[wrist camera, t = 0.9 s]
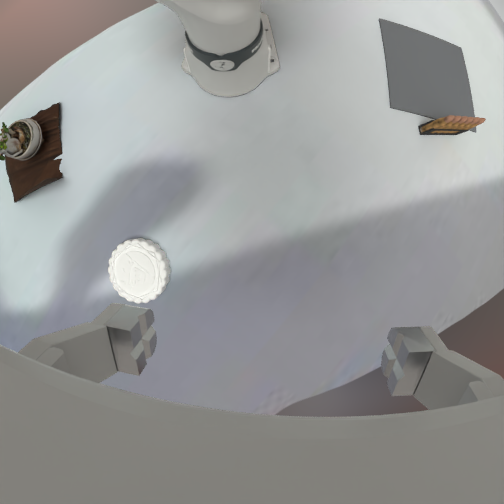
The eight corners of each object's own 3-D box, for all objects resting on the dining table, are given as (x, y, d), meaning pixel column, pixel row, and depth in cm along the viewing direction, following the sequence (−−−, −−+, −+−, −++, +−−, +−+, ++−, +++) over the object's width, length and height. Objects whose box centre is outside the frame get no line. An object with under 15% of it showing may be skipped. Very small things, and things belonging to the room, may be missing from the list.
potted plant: (65, 100, 52) (14, 82, 29) (81, 174, 59) (34, 188, 36) (2, 133, 50) (-59, 135, 27) (18, 202, 56) (-39, 228, 33)
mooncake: (104, 273, 55) (96, 276, 51) (135, 224, 54) (127, 225, 50) (149, 311, 56) (143, 317, 52) (183, 264, 55) (178, 268, 51)
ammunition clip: (454, 127, 50) (487, 114, 38) (456, 135, 50) (489, 123, 39) (418, 126, 50) (449, 110, 39) (420, 134, 51) (452, 121, 39)
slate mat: (378, 19, 47) (379, 18, 47) (460, 48, 47) (461, 47, 47) (390, 107, 50) (391, 107, 50) (475, 132, 50) (476, 132, 50)
